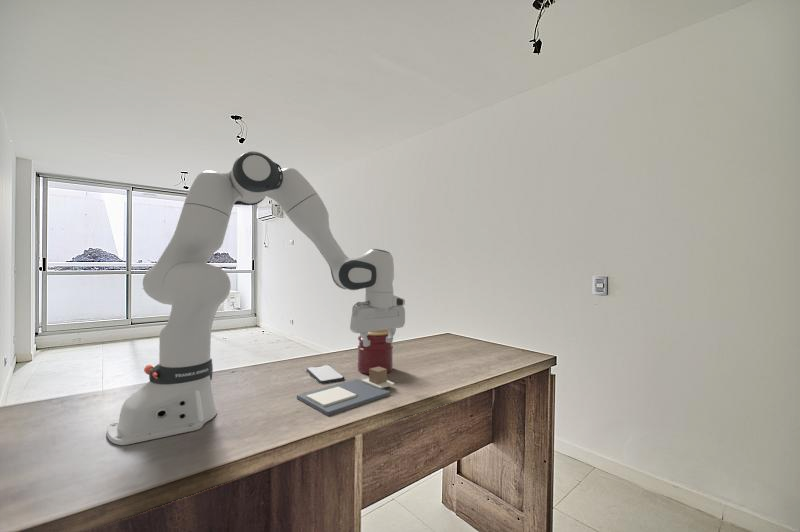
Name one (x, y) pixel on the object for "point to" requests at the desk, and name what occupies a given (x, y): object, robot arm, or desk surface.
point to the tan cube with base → (378, 378)
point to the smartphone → (325, 374)
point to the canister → (375, 352)
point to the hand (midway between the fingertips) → (378, 344)
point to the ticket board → (342, 396)
